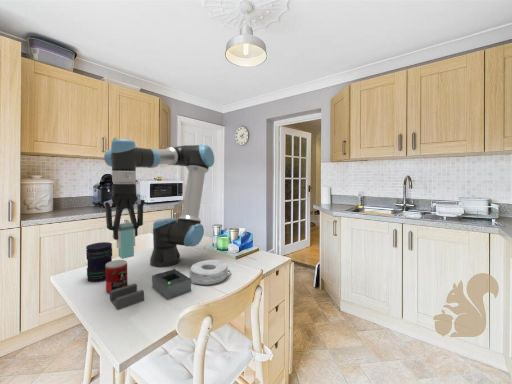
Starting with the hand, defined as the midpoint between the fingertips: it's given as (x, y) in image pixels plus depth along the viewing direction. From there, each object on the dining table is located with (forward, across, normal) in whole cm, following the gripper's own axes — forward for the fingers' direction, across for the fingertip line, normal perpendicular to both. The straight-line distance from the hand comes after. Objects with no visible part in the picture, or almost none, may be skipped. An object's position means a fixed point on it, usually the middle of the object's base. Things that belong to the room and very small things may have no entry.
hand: (126, 246), depth 89 cm
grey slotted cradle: (+21, 0, 0) cm, 21 cm away
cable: (+21, +34, -4) cm, 40 cm away
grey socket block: (+21, +16, -3) cm, 26 cm away
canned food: (+21, 0, +12) cm, 24 cm away
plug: (+4, 0, 0) cm, 4 cm away
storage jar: (+21, -2, +29) cm, 36 cm away
